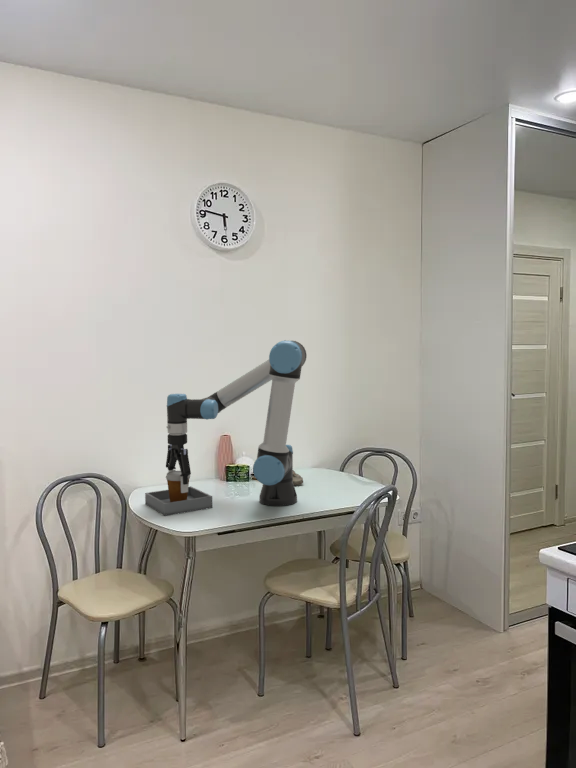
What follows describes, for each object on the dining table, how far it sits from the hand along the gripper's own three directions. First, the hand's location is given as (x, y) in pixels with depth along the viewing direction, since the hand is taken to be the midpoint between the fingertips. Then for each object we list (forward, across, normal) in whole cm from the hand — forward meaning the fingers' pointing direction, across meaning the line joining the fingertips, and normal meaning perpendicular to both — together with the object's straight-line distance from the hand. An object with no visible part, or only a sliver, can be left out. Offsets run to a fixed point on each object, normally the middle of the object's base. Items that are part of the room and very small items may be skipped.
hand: (178, 489), depth 239 cm
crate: (+7, 0, 0) cm, 7 cm away
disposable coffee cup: (+6, 0, 0) cm, 6 cm away
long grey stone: (+7, -18, +56) cm, 59 cm away
